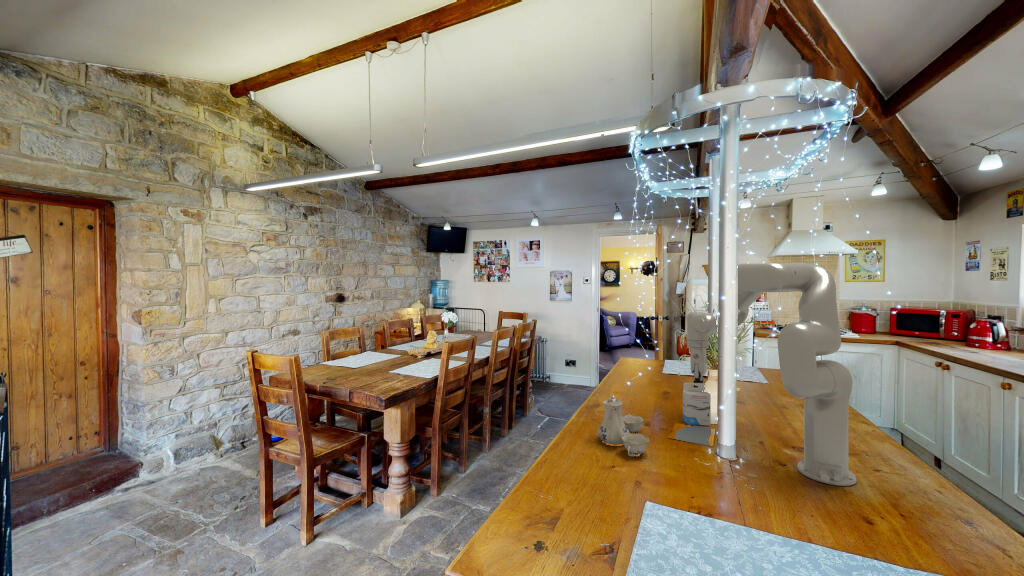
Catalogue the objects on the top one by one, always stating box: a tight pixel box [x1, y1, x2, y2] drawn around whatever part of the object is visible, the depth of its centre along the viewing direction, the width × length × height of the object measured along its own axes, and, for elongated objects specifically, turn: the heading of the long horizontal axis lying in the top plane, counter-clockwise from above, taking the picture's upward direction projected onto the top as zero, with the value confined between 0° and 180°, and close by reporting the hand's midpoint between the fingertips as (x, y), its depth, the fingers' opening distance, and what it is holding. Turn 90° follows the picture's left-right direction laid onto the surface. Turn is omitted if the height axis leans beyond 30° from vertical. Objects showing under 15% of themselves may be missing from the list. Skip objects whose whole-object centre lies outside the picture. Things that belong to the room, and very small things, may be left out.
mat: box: [675, 425, 717, 447], centre depth 135 cm, size 16×14×1 cm
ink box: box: [682, 382, 712, 426], centre depth 145 cm, size 9×5×15 cm, turn 84°
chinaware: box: [596, 393, 651, 458], centre depth 130 cm, size 28×17×17 cm, turn 171°
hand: (698, 390), depth 150 cm, fingers closed
